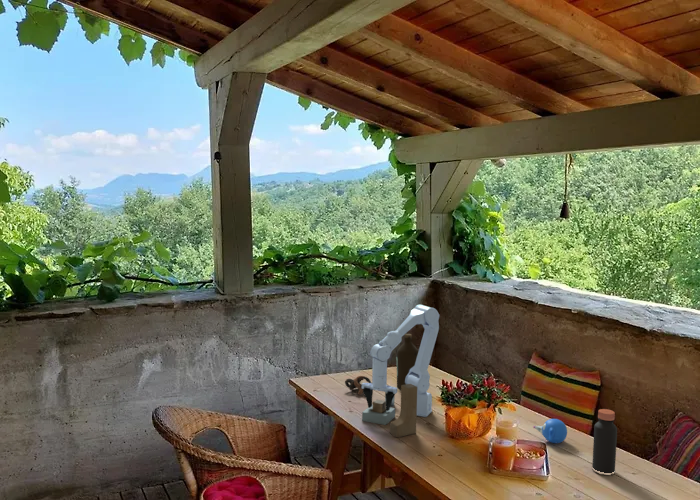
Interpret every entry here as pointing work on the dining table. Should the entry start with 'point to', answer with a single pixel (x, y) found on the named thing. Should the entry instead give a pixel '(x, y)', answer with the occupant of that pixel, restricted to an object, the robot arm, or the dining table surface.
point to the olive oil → (405, 359)
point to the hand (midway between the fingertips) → (378, 408)
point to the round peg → (392, 400)
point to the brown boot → (406, 412)
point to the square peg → (379, 406)
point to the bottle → (605, 442)
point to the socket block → (378, 416)
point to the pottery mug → (356, 383)
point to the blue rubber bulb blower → (553, 430)
